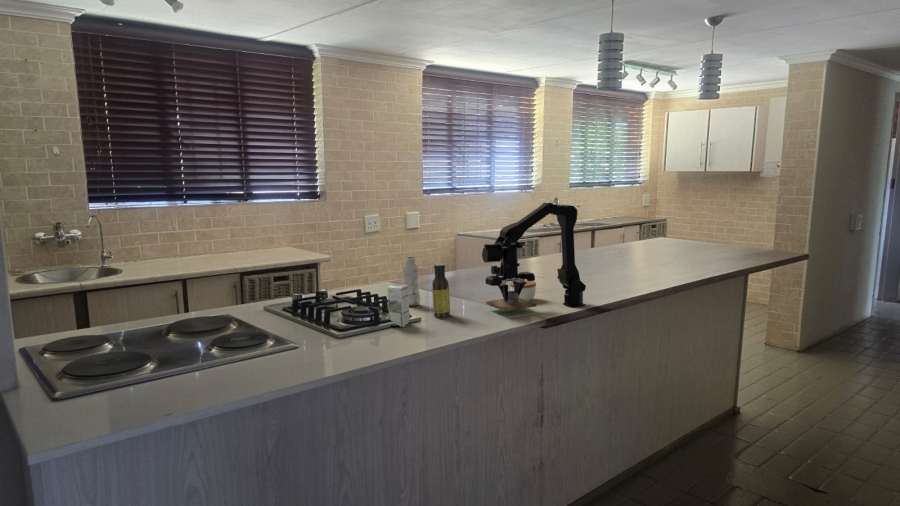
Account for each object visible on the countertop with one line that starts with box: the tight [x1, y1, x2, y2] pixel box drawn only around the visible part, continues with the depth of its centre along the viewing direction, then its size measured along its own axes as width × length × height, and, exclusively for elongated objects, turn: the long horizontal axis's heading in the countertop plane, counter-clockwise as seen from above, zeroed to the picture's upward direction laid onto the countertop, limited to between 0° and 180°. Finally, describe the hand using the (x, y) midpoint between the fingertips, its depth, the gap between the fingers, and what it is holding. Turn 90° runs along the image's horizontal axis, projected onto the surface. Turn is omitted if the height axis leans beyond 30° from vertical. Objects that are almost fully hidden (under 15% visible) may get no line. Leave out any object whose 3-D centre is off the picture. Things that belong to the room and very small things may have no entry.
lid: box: [485, 290, 538, 311], centre depth 219 cm, size 14×14×5 cm
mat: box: [483, 307, 540, 320], centre depth 220 cm, size 16×16×1 cm
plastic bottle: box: [402, 256, 421, 307], centre depth 236 cm, size 6×7×20 cm
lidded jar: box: [509, 279, 537, 302], centre depth 238 cm, size 11×11×9 cm
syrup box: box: [386, 284, 411, 328], centre depth 207 cm, size 6×6×14 cm
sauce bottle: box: [431, 263, 451, 319], centre depth 217 cm, size 6×6×20 cm
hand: (510, 300), depth 219 cm, fingers closed on lid, 4 cm apart
